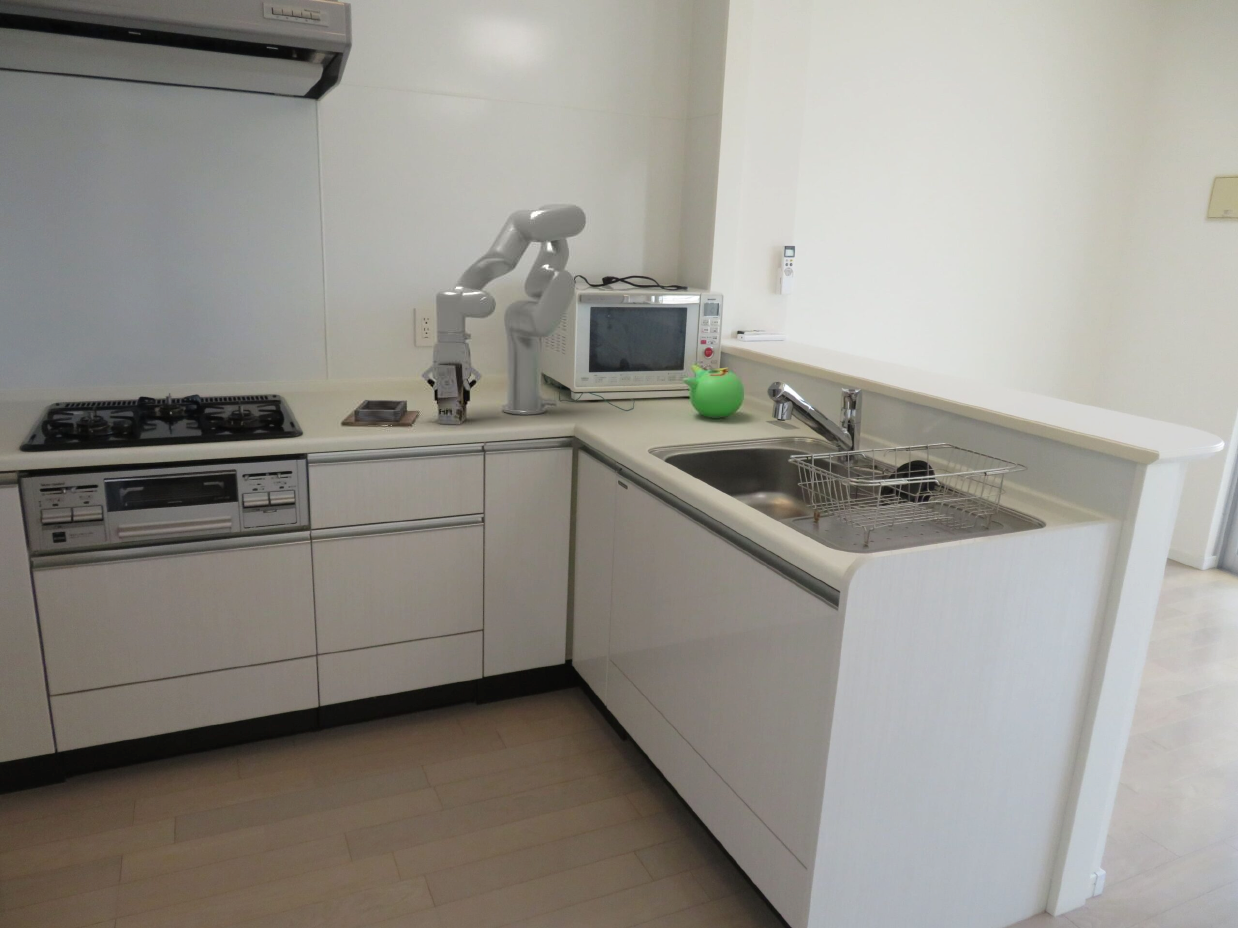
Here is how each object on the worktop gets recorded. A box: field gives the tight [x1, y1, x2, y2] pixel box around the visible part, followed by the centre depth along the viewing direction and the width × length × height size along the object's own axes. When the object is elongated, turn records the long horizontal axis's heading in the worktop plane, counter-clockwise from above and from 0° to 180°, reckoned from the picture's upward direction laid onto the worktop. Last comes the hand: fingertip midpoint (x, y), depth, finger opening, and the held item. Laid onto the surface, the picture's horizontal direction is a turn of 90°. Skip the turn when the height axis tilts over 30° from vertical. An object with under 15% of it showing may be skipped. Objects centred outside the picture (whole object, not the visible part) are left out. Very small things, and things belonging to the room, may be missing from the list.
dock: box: [340, 399, 421, 427], centre depth 243 cm, size 18×16×4 cm
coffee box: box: [437, 364, 468, 426], centre depth 243 cm, size 9×6×16 cm
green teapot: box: [682, 364, 745, 419], centre depth 260 cm, size 18×17×15 cm
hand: (452, 403), depth 244 cm, fingers closed on coffee box, 6 cm apart
